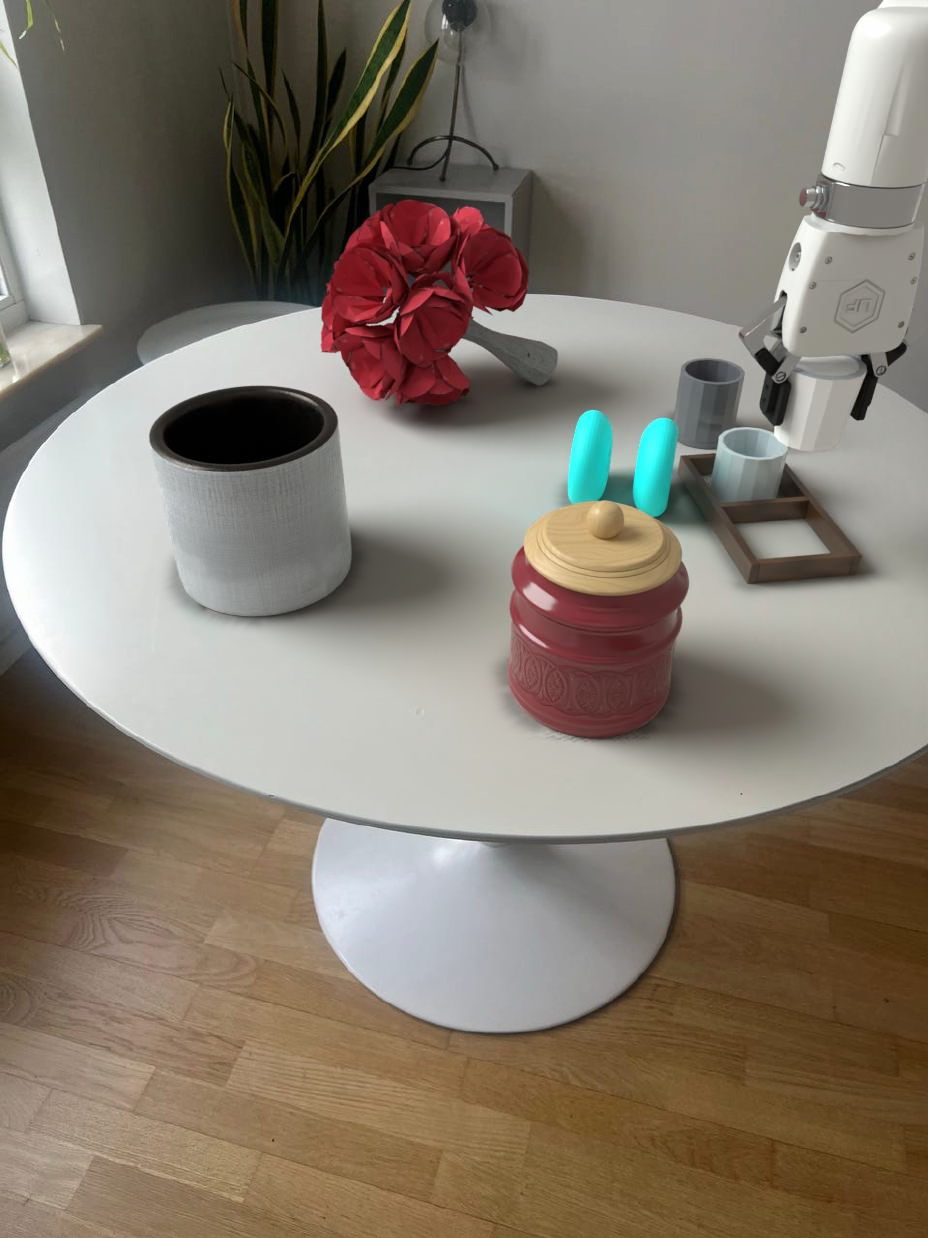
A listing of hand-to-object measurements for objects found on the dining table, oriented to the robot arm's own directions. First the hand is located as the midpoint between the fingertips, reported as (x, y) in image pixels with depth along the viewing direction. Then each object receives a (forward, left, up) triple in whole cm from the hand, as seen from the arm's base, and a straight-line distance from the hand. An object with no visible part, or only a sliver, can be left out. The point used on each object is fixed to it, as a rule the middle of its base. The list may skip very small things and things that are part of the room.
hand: (812, 414), depth 82 cm
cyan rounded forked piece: (+13, -10, -15) cm, 22 cm away
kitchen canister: (+23, +17, -15) cm, 32 cm away
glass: (0, -9, -15) cm, 17 cm away
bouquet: (+28, -39, -15) cm, 51 cm away
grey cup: (-1, -24, -15) cm, 28 cm away
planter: (+49, -3, -15) cm, 51 cm away
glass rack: (0, -4, -15) cm, 15 cm away
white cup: (0, 0, -2) cm, 2 cm away
